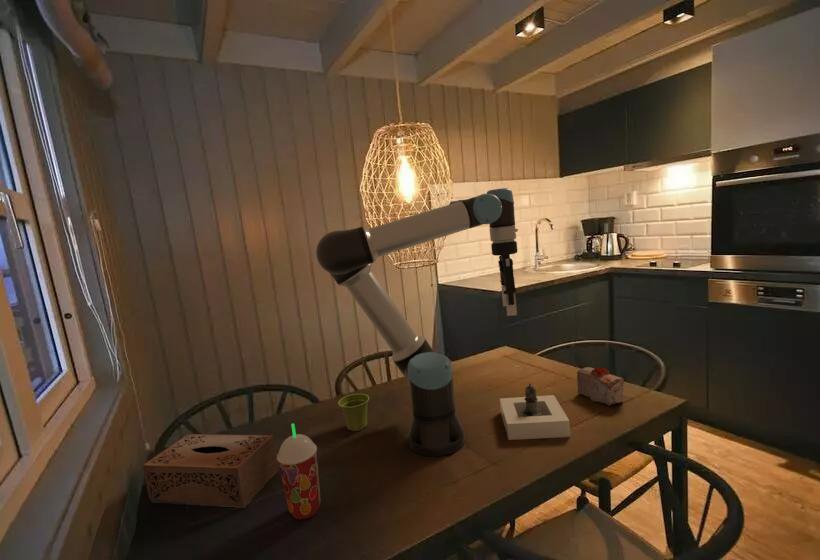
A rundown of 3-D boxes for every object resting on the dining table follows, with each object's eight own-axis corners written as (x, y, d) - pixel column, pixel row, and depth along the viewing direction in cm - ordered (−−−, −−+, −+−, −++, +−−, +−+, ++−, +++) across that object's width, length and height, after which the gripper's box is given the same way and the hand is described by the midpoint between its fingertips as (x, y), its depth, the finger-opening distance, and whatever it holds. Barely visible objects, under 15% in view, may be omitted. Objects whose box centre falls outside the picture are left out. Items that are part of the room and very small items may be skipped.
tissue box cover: (278, 471, 105) (272, 435, 104) (244, 509, 91) (237, 468, 90) (194, 468, 111) (187, 434, 110) (150, 504, 97) (142, 465, 96)
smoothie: (328, 496, 93) (316, 413, 90) (321, 522, 84) (308, 431, 82) (291, 500, 93) (278, 417, 90) (281, 526, 84) (266, 436, 82)
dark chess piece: (541, 418, 118) (538, 378, 116) (545, 428, 112) (543, 386, 110) (520, 419, 118) (517, 380, 117) (524, 429, 113) (521, 388, 111)
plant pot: (375, 430, 121) (371, 402, 120) (343, 437, 119) (339, 409, 118) (369, 417, 130) (366, 391, 129) (340, 423, 128) (336, 397, 127)
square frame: (508, 439, 108) (507, 424, 108) (500, 412, 124) (499, 398, 123) (570, 436, 106) (569, 420, 106) (554, 409, 122) (553, 395, 122)
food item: (629, 403, 121) (627, 371, 120) (610, 410, 118) (608, 378, 117) (591, 388, 134) (590, 360, 133) (573, 395, 131) (572, 365, 129)
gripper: (522, 241, 109) (528, 318, 112) (511, 238, 134) (517, 301, 136) (493, 244, 110) (500, 321, 113) (488, 240, 135) (494, 303, 137)
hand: (509, 310), depth 124 cm, fingers open, 13 cm apart
